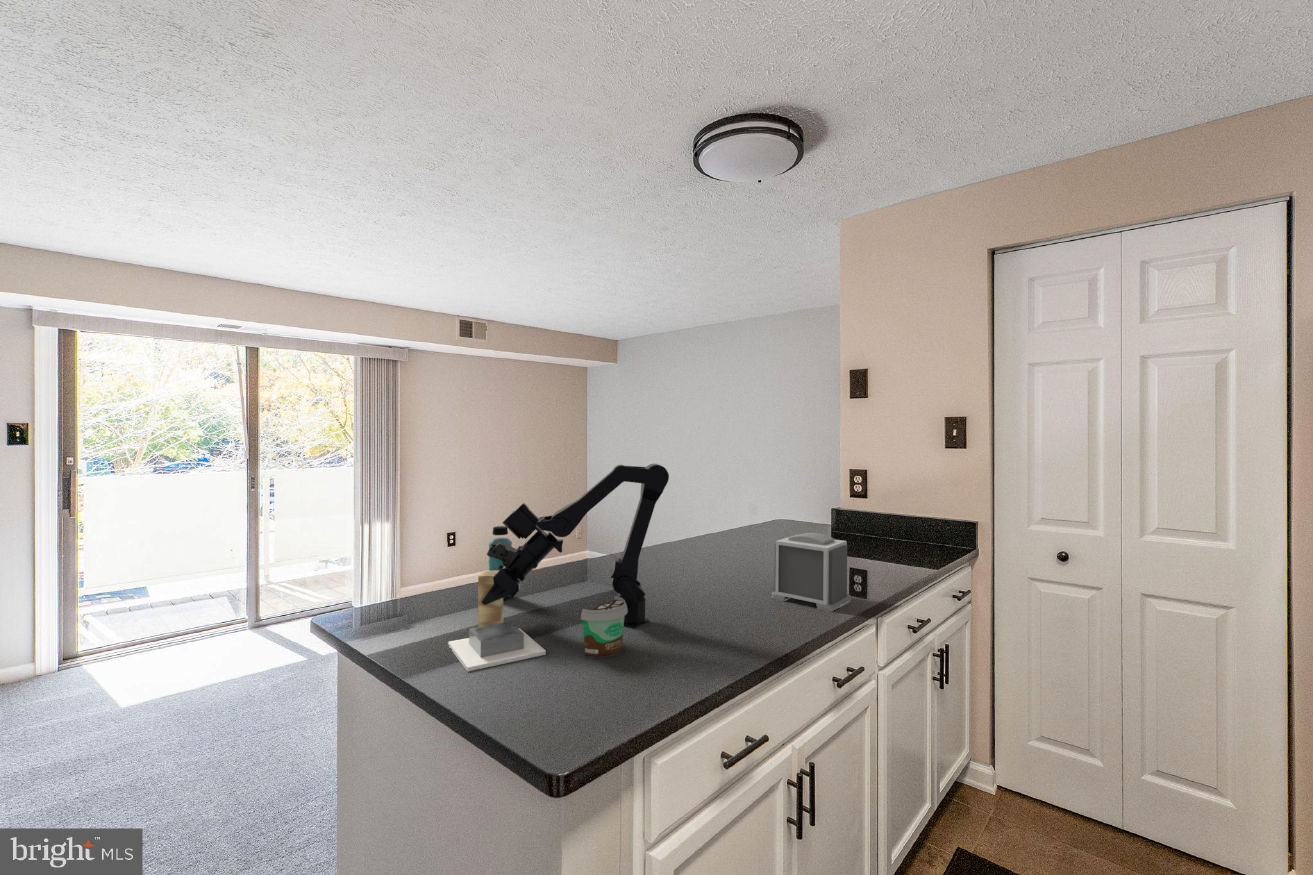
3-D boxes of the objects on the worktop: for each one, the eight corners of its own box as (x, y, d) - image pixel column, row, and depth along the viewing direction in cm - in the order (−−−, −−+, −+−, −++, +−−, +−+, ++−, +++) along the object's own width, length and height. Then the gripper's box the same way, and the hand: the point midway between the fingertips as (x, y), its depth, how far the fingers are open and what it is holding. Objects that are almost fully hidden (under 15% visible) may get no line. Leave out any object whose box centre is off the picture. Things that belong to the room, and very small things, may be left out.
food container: (604, 664, 114) (604, 614, 114) (580, 658, 117) (580, 609, 117) (638, 645, 124) (638, 599, 124) (615, 639, 128) (616, 595, 128)
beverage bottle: (517, 596, 161) (517, 525, 161) (501, 602, 155) (501, 529, 155) (499, 593, 164) (499, 523, 163) (482, 599, 158) (483, 527, 157)
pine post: (503, 623, 138) (503, 570, 137) (500, 631, 133) (500, 575, 132) (481, 624, 137) (481, 570, 137) (478, 632, 132) (478, 576, 132)
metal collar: (509, 635, 128) (509, 621, 127) (523, 648, 120) (523, 633, 120) (468, 643, 123) (468, 628, 123) (480, 657, 115) (480, 641, 115)
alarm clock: (852, 601, 158) (852, 535, 158) (832, 612, 148) (833, 542, 148) (791, 589, 170) (792, 527, 170) (769, 598, 160) (770, 533, 160)
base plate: (519, 631, 132) (519, 628, 132) (545, 654, 119) (545, 650, 119) (448, 645, 124) (448, 641, 124) (467, 671, 110) (467, 667, 110)
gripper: (512, 522, 144) (467, 567, 143) (503, 536, 126) (451, 587, 125) (544, 553, 146) (499, 597, 144) (539, 570, 127) (488, 622, 126)
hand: (484, 600), depth 135 cm, fingers closed on pine post, 5 cm apart
